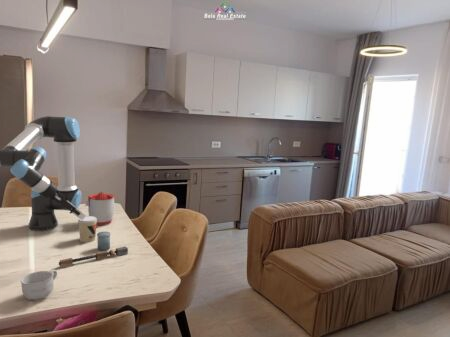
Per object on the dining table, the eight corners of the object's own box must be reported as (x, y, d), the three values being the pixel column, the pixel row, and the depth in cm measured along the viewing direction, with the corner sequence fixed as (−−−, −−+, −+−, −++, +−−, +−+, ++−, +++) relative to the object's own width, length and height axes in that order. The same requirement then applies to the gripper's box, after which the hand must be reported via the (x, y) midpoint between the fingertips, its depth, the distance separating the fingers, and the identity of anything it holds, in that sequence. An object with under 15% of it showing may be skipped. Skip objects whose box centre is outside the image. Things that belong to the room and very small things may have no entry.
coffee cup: (90, 243, 184) (90, 222, 182) (74, 241, 185) (74, 219, 183) (100, 237, 193) (100, 217, 191) (85, 235, 194) (84, 215, 192)
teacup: (31, 307, 124) (31, 286, 123) (15, 297, 130) (14, 277, 129) (67, 291, 136) (66, 272, 135) (50, 283, 142) (50, 264, 140)
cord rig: (58, 266, 156) (58, 259, 156) (125, 251, 176) (125, 246, 176) (60, 268, 154) (59, 262, 154) (127, 253, 174) (127, 248, 173)
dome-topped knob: (95, 247, 179) (95, 232, 178) (107, 245, 183) (107, 230, 182) (99, 251, 174) (99, 236, 173) (112, 249, 178) (112, 234, 177)
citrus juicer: (83, 220, 219) (83, 189, 216) (112, 217, 227) (112, 188, 224) (86, 228, 206) (86, 195, 203) (116, 225, 214) (116, 193, 210)
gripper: (32, 187, 165) (66, 212, 178) (44, 200, 147) (81, 227, 159) (44, 175, 168) (77, 201, 180) (57, 186, 149) (93, 215, 161)
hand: (79, 213), depth 169 cm, fingers open, 13 cm apart
